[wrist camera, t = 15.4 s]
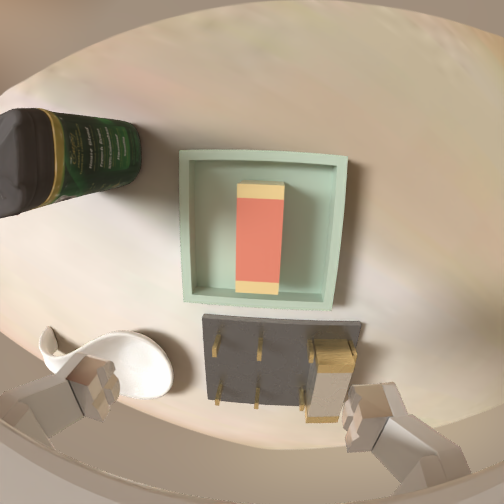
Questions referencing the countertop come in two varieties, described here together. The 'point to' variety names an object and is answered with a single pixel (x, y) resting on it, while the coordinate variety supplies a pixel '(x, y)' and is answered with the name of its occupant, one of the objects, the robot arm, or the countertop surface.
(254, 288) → the fuse
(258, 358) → the fuse holder
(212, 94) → the countertop surface
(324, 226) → the tray
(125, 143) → the coffee jar
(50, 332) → the spoon rest
